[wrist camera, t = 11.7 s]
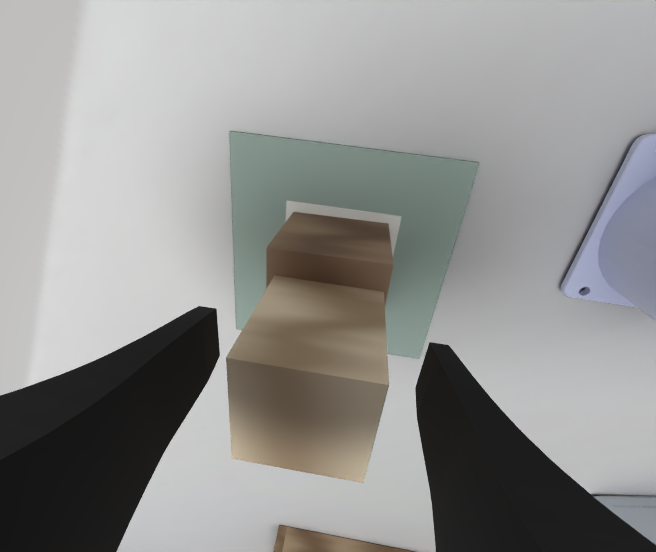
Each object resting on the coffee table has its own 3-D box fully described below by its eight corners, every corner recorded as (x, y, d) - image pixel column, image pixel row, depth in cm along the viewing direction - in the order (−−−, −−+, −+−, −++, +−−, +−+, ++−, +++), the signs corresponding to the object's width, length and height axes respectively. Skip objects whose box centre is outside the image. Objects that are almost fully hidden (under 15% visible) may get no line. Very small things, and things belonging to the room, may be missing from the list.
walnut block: (388, 223, 17) (393, 264, 13) (373, 304, 19) (373, 363, 15) (293, 211, 17) (266, 247, 13) (290, 292, 20) (266, 346, 15)
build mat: (478, 162, 15) (480, 163, 15) (418, 356, 21) (419, 360, 21) (230, 131, 16) (228, 131, 16) (237, 327, 22) (235, 330, 22)
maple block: (384, 291, 13) (388, 384, 9) (366, 374, 15) (363, 483, 11) (274, 275, 13) (226, 357, 9) (272, 358, 16) (232, 458, 11)
